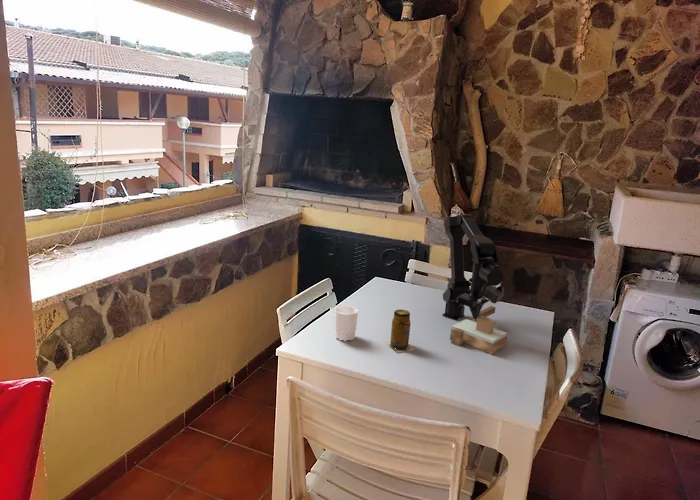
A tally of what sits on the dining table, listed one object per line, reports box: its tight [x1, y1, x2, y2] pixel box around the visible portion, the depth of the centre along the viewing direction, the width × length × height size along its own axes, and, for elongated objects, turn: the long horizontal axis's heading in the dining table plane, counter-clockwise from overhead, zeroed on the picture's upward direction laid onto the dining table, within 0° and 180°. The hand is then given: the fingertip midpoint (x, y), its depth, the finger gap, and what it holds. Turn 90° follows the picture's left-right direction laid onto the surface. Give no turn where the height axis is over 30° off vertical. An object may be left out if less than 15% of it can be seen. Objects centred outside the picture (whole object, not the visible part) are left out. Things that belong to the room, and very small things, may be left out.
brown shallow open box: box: [449, 318, 508, 356], centre depth 178 cm, size 16×15×5 cm
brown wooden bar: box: [473, 305, 497, 320], centre depth 189 cm, size 2×12×2 cm, turn 137°
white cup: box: [334, 305, 359, 341], centre depth 176 cm, size 8×8×10 cm
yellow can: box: [384, 308, 417, 353], centre depth 171 cm, size 7×8×12 cm
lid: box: [451, 316, 508, 343], centre depth 177 cm, size 16×10×6 cm, turn 47°
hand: (475, 318), depth 184 cm, fingers closed
